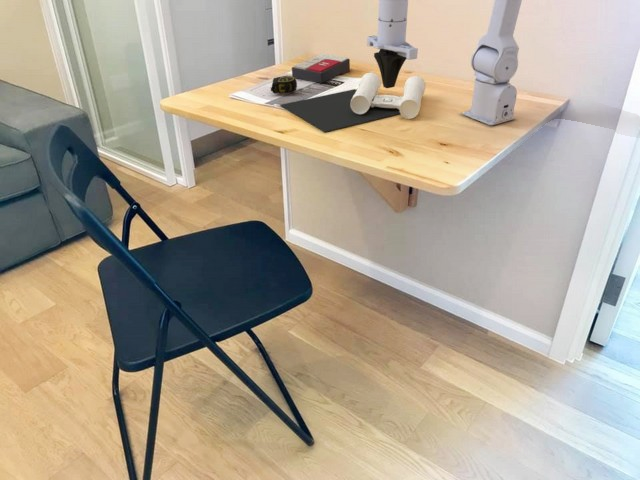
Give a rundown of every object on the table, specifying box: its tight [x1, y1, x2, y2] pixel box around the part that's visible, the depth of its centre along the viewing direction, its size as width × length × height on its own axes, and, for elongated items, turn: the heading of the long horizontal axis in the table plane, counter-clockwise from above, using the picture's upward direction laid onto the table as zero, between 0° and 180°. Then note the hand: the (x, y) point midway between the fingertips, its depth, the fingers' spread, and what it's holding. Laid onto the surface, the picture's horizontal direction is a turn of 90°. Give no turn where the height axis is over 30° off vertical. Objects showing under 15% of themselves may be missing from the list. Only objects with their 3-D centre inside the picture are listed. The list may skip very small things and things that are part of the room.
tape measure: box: [270, 75, 298, 94], centre depth 143 cm, size 7×7×4 cm
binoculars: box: [350, 72, 427, 120], centre depth 131 cm, size 17×5×18 cm
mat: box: [279, 88, 401, 133], centre depth 132 cm, size 22×23×1 cm
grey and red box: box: [291, 53, 351, 84], centre depth 157 cm, size 11×4×15 cm
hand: (389, 86), depth 113 cm, fingers closed
